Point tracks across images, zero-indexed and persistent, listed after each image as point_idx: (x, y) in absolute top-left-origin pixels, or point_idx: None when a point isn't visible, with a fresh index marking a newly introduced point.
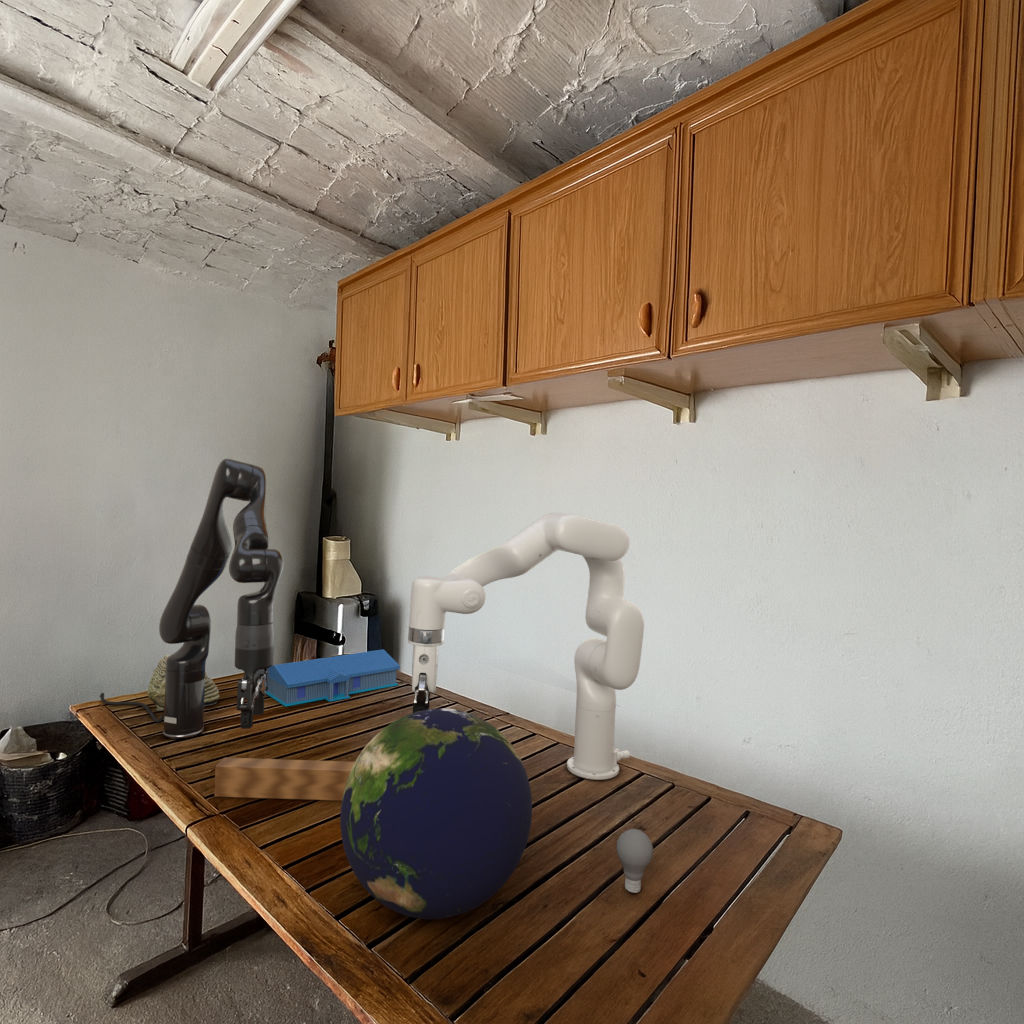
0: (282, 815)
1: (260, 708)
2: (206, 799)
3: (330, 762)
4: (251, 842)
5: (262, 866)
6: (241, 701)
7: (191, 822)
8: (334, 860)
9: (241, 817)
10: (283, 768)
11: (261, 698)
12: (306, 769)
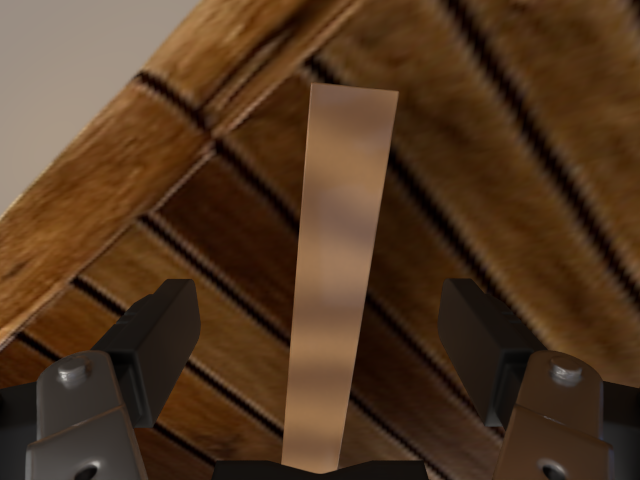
0: (216, 291)
1: (453, 343)
2: (297, 67)
3: (333, 424)
4: (91, 256)
5: (11, 298)
6: (40, 427)
7: (157, 75)
8: None
9: (198, 202)
10: (293, 319)
11: (486, 406)
12: (288, 376)
